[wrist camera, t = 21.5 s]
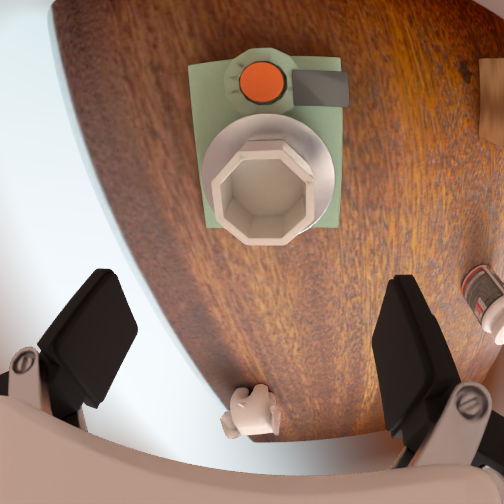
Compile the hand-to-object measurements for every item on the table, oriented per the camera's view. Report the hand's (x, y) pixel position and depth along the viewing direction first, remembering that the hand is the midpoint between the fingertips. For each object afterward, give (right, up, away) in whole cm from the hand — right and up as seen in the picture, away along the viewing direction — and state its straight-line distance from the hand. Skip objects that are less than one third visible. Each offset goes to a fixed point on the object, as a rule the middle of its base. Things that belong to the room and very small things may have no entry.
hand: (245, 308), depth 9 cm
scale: (+2, +12, +15) cm, 19 cm away
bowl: (+1, +8, +13) cm, 15 cm away
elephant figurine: (+1, -23, +37) cm, 43 cm away
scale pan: (+2, +10, +13) cm, 16 cm away
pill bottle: (+31, -2, +20) cm, 37 cm away
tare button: (+1, +15, +10) cm, 18 cm away
